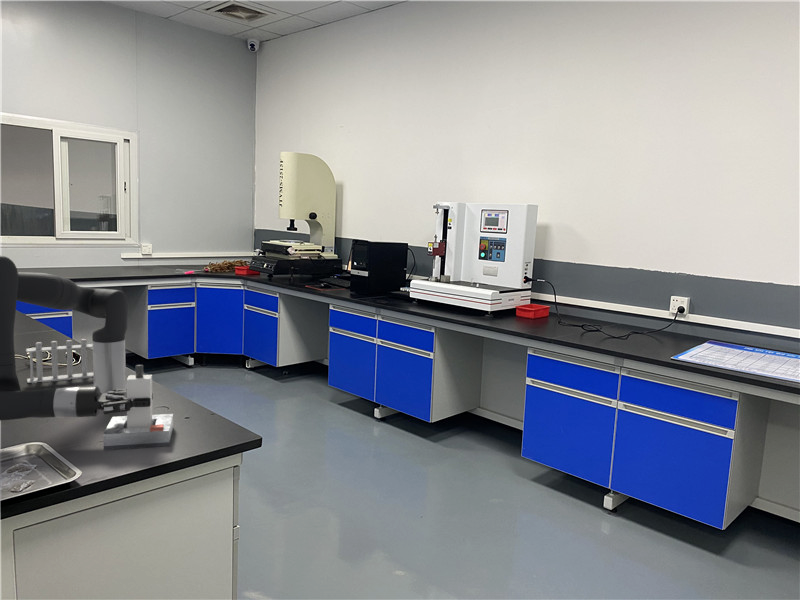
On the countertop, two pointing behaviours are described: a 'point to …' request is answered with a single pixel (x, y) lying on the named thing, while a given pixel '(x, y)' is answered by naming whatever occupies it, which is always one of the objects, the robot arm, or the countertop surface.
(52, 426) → the countertop surface
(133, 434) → the socket box
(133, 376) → the plug
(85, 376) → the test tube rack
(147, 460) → the countertop surface
